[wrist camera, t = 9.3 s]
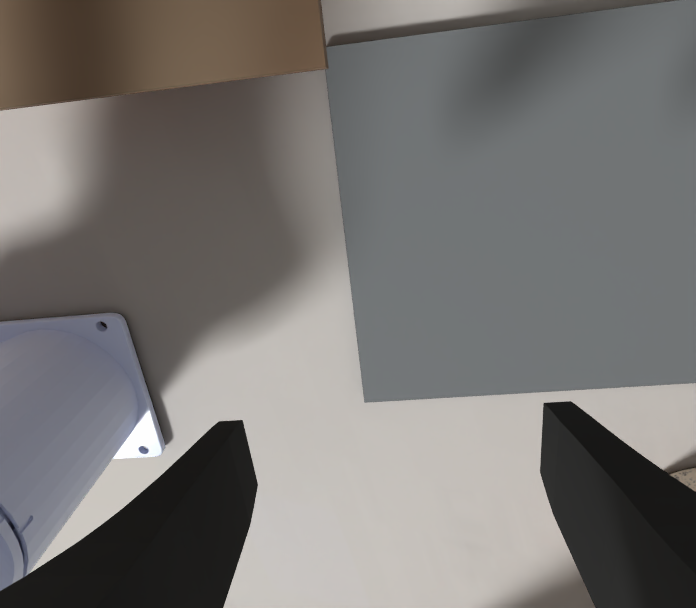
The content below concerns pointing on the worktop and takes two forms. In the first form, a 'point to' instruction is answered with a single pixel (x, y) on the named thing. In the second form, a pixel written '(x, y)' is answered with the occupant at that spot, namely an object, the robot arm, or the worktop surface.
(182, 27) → the walnut lid
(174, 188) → the worktop surface
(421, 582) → the worktop surface
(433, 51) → the rubber mat
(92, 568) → the robot arm
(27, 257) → the worktop surface
